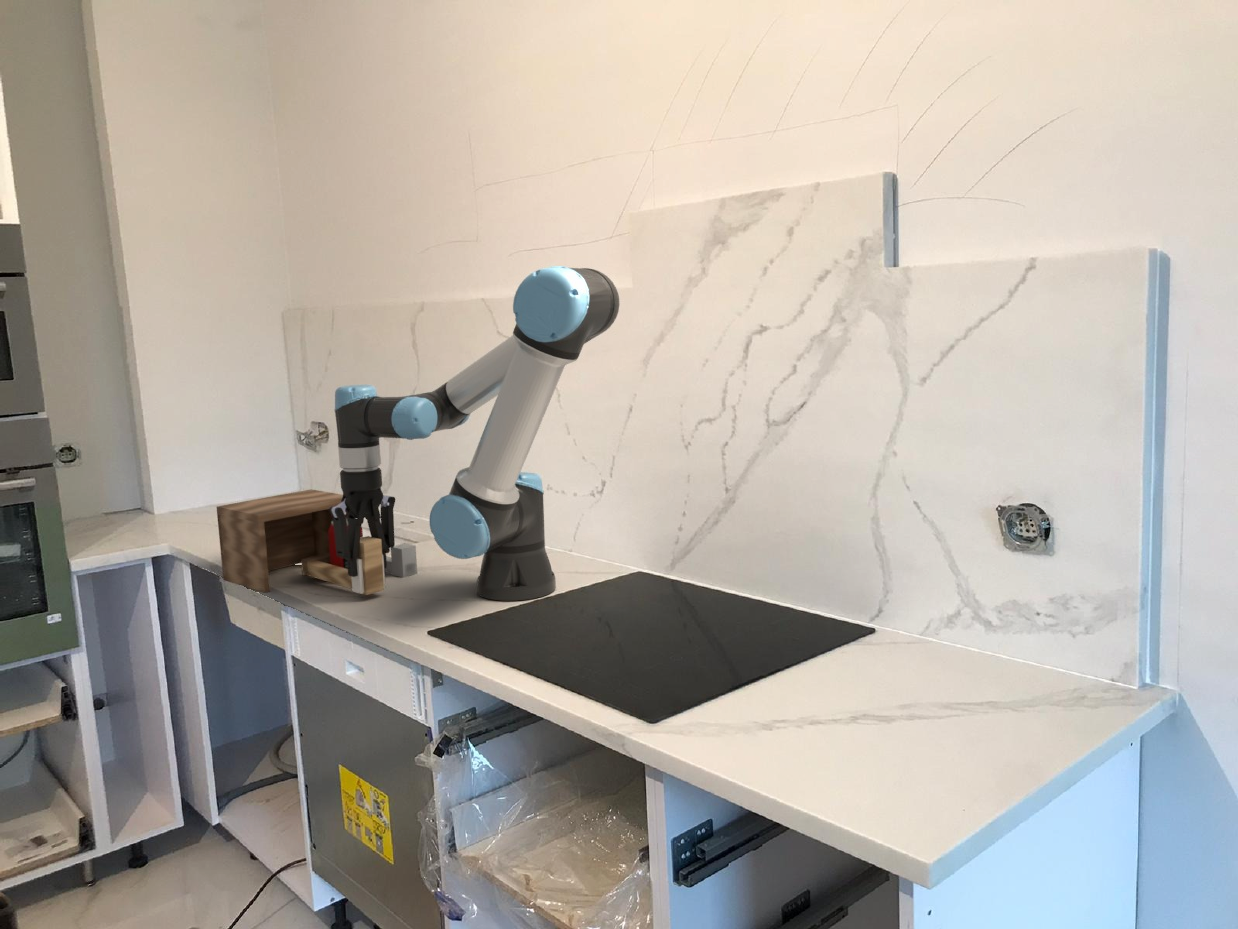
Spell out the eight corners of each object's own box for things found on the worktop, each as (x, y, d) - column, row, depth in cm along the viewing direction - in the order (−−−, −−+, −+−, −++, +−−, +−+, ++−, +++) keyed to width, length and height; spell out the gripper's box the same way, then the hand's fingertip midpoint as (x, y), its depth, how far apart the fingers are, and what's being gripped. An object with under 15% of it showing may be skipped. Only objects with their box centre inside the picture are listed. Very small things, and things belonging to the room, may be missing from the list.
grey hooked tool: (417, 573, 207) (415, 545, 206) (403, 577, 204) (401, 549, 203) (376, 564, 216) (374, 536, 215) (362, 567, 213) (360, 540, 212)
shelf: (359, 568, 212) (354, 496, 210) (265, 592, 196) (258, 515, 193) (316, 557, 223) (310, 489, 220) (223, 580, 206) (216, 506, 203)
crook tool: (407, 583, 195) (405, 533, 193) (366, 595, 188) (363, 543, 186) (339, 564, 209) (337, 517, 207) (299, 574, 201) (295, 526, 200)
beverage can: (357, 583, 200) (352, 525, 198) (325, 582, 202) (321, 524, 200) (371, 574, 207) (367, 517, 205) (341, 573, 208) (336, 517, 206)
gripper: (385, 460, 195) (393, 575, 199) (308, 473, 182) (318, 596, 186) (409, 463, 191) (417, 581, 194) (332, 476, 178) (342, 603, 181)
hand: (368, 588), depth 190 cm, fingers open, 4 cm apart
